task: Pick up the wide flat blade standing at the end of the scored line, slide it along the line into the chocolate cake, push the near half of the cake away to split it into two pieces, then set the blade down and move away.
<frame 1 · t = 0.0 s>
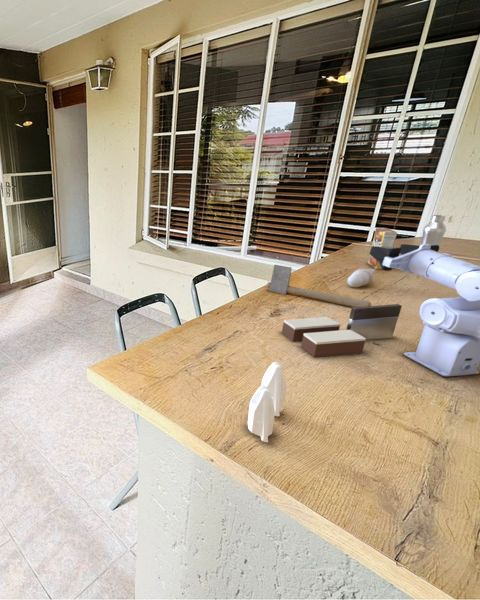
hand: (386, 249, 88), 22 cm above the counter, tool horizontal, fingers open, 7 cm apart
candy box: (376, 267, 144), on the counter
wide flat blade: (367, 338, 90), on the counter
cake near half: (330, 350, 86), on the counter
silver bottle: (423, 266, 142), on the counter
long-handled mallet: (313, 299, 116), on the counter
cake far half: (308, 335, 93), on the counter
shaker set: (264, 420, 65), on the counter
white rounded oblong piece: (361, 284, 126), on the counter
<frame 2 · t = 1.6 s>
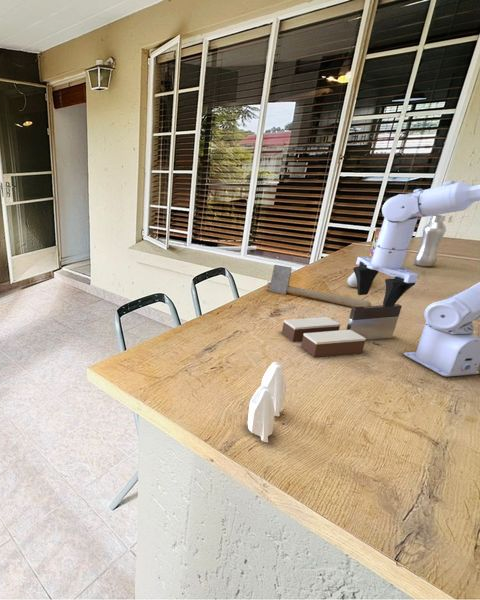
hand: (374, 300, 87), 10 cm above the counter, tool pointing down, fingers open, 7 cm apart
nothing on the counter moved.
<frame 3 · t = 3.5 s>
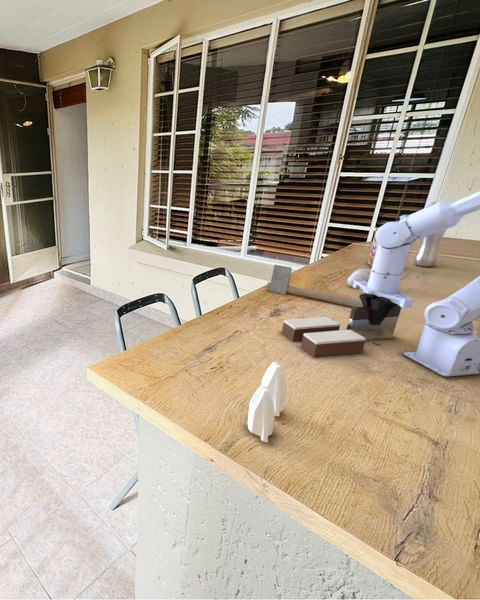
hand: (372, 323, 88), 4 cm above the counter, tool pointing down, fingers closed on wide flat blade, 1 cm apart
wide flat blade: (367, 338, 90), on the counter, touching gripper
everything else where it was.
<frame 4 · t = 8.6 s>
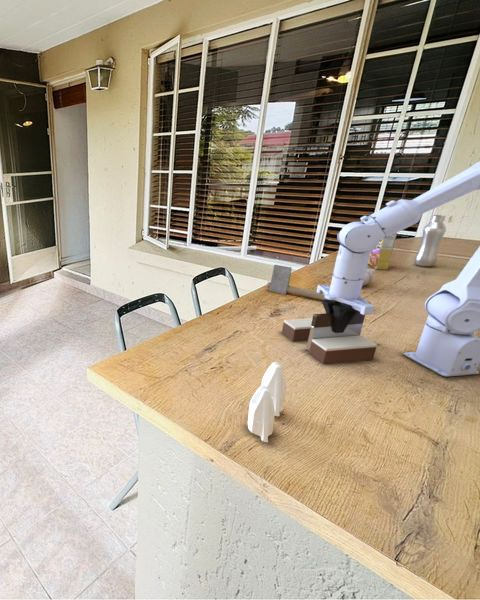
hand: (335, 330, 84), 5 cm above the counter, tool pointing down, fingers closed on wide flat blade, 1 cm apart
wide flat blade: (331, 346, 85), point 1 cm above the counter, touching gripper
cake near half: (340, 356, 83), on the counter
everything else where it was.
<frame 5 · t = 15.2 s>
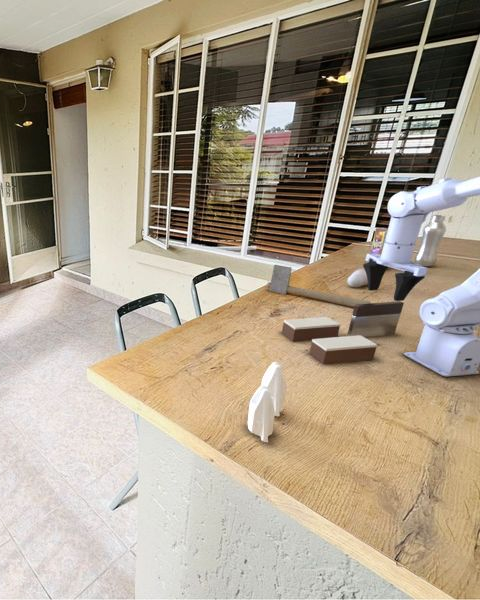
hand: (385, 294, 90), 10 cm above the counter, tool pointing down, fingers open, 7 cm apart
wide flat blade: (370, 335, 91), on the counter
everything else where it was.
at the end: cake near half moved 3.1 cm from its start; cake far half moved 0.0 cm from its start; cake near half tilted 0° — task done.
